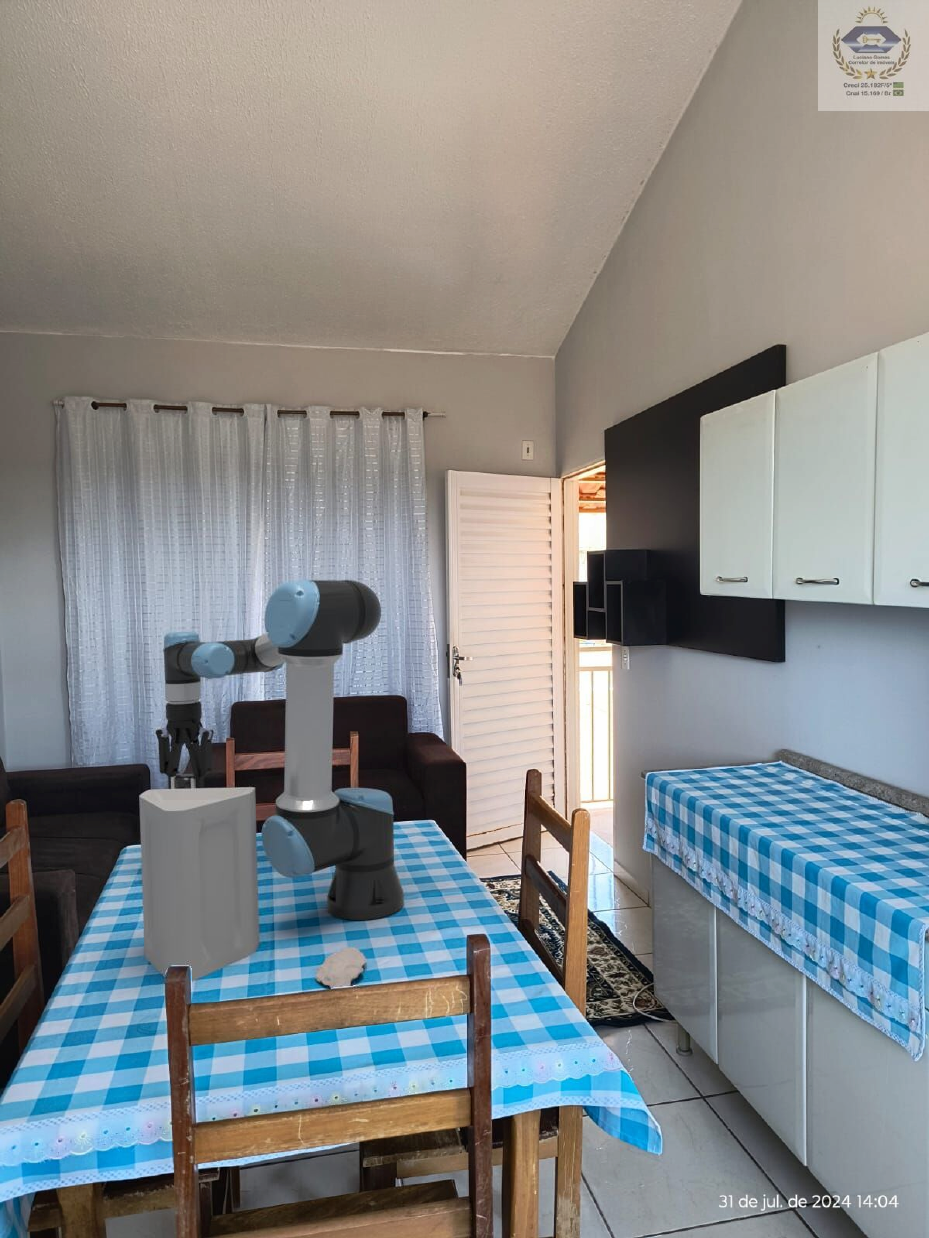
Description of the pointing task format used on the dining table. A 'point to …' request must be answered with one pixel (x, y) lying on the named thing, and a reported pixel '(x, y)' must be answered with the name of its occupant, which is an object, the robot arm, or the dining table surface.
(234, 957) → the grey triangular prism
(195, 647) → the robot arm
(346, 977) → the stone tool
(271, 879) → the dining table surface
